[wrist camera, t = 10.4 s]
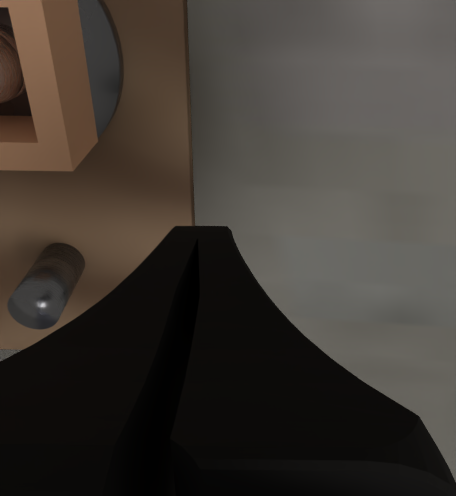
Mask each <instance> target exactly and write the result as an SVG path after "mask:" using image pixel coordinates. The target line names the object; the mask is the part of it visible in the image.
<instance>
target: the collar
mask: <svg viewBox="0 0 456 496" xmlns="http://www.w3.org/2000/svg"><path fill="white" fill-rule="evenodd" d="M0 7H8V9H9V14H10V18H11V23H12V27H13V32H14V36H15V41H16V45H17V50H18V54H19V59H20V63H21V68H22V72H23V77H24V81H25V86H26V90H27V95H28V99H29V104H30V108H31V113H32V116H0V170H17V171H74V170H75V168H76V167H77V166H78V165H79V164H80V162H81V161H82V160H83V159H84V158H85V156H86V155H87V154H88V153H89V152H90V150H91V149H92V148H93V147H94V146H95V144H96V143H97V142H98V137H97V130H96V124H95V117H94V110H93V103H92V96H91V90H90V83H89V76H88V69H87V62H86V56H85V49H84V42H83V35H82V28H81V22H80V15H79V8H78V1H77V0H0Z"/></svg>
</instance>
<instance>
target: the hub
mask: <svg viewBox="0 0 456 496" xmlns="http://www.w3.org/2000/svg"><path fill="white" fill-rule="evenodd" d="M77 1H78V8H79V15H80V22H81V28H82V35H83V42H84V49H85V56H86V62H87V69H88V76H89V83H90V90H91V96H92V103H93V110H94V117H95V124H96V130H97V137H98V138H99V137H100V135H101V134H102V133H103V132H104V130H105V129H106V128H107V126H108V125H109V124H110V122H111V120H112V118H113V117H114V115H115V113H116V110H117V108H118V105H119V102H120V99H121V94H122V89H123V80H124V62H123V53H122V47H121V42H120V38H119V35H118V32H117V28H116V25H115V23H114V21H113V18H112V16H111V13H110V11H109V9H108V7H107V6H106V4H105V2H104V0H77ZM0 116H32V113H31V108H30V104H29V99H28V95H27V90H26V86H25V81H24V77H23V72H22V68H21V63H20V59H19V54H18V50H17V45H16V41H15V36H14V32H13V27H12V23H11V18H10V14H9V9H8V7H0Z"/></svg>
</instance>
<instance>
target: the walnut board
mask: <svg viewBox="0 0 456 496" xmlns="http://www.w3.org/2000/svg"><path fill="white" fill-rule="evenodd" d="M104 2H105V4H106V6H107V7H108V9H109V11H110V13H111V16H112V18H113V21H114V23H115V25H116V28H117V32H118V35H119V38H120V42H121V47H122V53H123V62H124V80H123V89H122V94H121V99H120V102H119V105H118V108H117V110H116V113H115V115H114V117H113V118H112V120H111V122H110V124H109V125H108V126H107V128H106V129H105V130H104V132H103V133H102V134H101V135H100V137H99V138H98V142H97V143H96V144H95V146H94V147H93V148H92V149H91V150H90V152H89V153H88V154H87V155H86V156H85V158H84V159H83V160H82V161H81V162H80V164H79V165H78V166H77V167H76V168H75V170H74V171H17V170H0V349H25V348H27V347H29V346H31V345H33V344H35V343H36V342H38V341H40V340H41V339H43V338H44V337H46V336H48V335H49V334H51V333H52V332H54V331H56V330H57V329H59V328H61V327H62V326H64V325H65V324H67V323H69V322H70V321H72V320H74V319H75V318H76V317H78V316H79V315H81V314H82V313H84V312H85V311H86V310H88V309H89V308H90V307H92V306H93V305H95V304H96V303H97V302H99V301H100V300H101V299H102V298H104V297H105V296H106V295H107V294H109V293H110V292H111V291H112V290H113V289H114V288H115V287H117V286H118V285H119V284H120V283H121V282H122V281H123V280H124V279H125V278H126V277H127V276H129V275H130V274H131V273H132V272H133V271H134V270H135V269H136V268H137V267H138V266H139V265H140V264H141V263H142V262H143V261H144V259H145V258H146V257H147V256H148V255H149V254H150V253H151V252H152V251H153V250H154V249H155V248H156V247H157V245H158V244H159V243H160V242H161V241H162V240H163V239H164V237H165V236H166V235H167V234H168V233H169V232H170V230H171V229H172V228H174V227H175V226H195V215H194V187H193V159H192V130H191V102H190V74H189V46H188V18H187V0H104ZM53 243H65V244H69V245H71V246H73V247H75V248H76V249H77V250H78V251H79V252H80V253H81V254H82V255H83V257H84V260H85V269H84V271H83V273H82V275H81V277H80V279H79V281H78V283H77V285H76V287H75V289H74V291H73V293H72V295H71V296H70V298H69V300H68V302H67V304H66V306H65V308H64V310H63V312H62V314H61V316H60V318H59V320H58V322H57V323H56V324H55V325H54V326H52V327H50V328H47V329H41V330H38V329H31V328H28V327H25V326H23V325H21V324H20V323H18V322H17V321H16V320H14V318H13V317H12V316H11V315H10V313H9V311H8V306H7V304H8V300H9V298H10V297H11V295H12V294H13V292H14V291H15V289H16V288H17V287H18V285H19V284H20V282H21V281H22V279H23V278H24V277H25V275H26V274H27V272H28V271H29V269H30V268H31V267H32V265H33V264H34V262H35V261H36V260H37V258H38V257H39V255H40V254H41V252H42V251H43V250H44V248H45V247H46V246H48V245H50V244H53Z"/></svg>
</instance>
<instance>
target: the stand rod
mask: <svg viewBox="0 0 456 496" xmlns="http://www.w3.org/2000/svg"><path fill="white" fill-rule="evenodd" d="M84 269H85V260H84V257H83V255H82V254H81V253H80V252H79V251H78V250H77V249H76V248H75V247H73V246H71V245H69V244H65V243H53V244H50V245H48V246H46V247H45V248H44V250H43V251H42V252H41V254H40V255H39V257H38V258H37V260H36V261H35V262H34V264H33V265H32V267H31V268H30V269H29V271H28V272H27V274H26V275H25V277H24V278H23V279H22V281H21V282H20V284H19V285H18V287H17V288H16V289H15V291H14V292H13V294H12V295H11V297H10V298H9V300H8V304H7V306H8V311H9V313H10V315H11V316H12V317H13V318H14V320H16V321H17V322H18V323H20V324H21V325H23V326H25V327H28V328H31V329H38V330H41V329H47V328H50V327H52V326H54V325H55V324H56V323H57V322H58V320H59V318H60V316H61V314H62V312H63V310H64V308H65V306H66V304H67V302H68V300H69V298H70V296H71V295H72V293H73V291H74V289H75V287H76V285H77V283H78V281H79V279H80V277H81V275H82V273H83V271H84Z"/></svg>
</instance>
